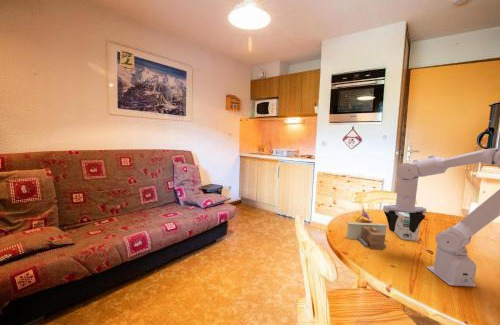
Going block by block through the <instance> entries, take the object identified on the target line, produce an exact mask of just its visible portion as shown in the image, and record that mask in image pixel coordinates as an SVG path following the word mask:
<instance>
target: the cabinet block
mask: <svg viewBox="0 0 500 325" xmlns="http://www.w3.org/2000/svg"><path fill="white" fill-rule="evenodd" d="M361 238H362V239H363V240H364V241H365V242H366V243H367V244H368V247H367V248H369V249H371V250H385V248H384V244H385V240H386V236H385V235H384V234H383V233H382V232H380V231H379V230H378V229H376V228H375V227H364V226H362V235H361Z"/></svg>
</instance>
